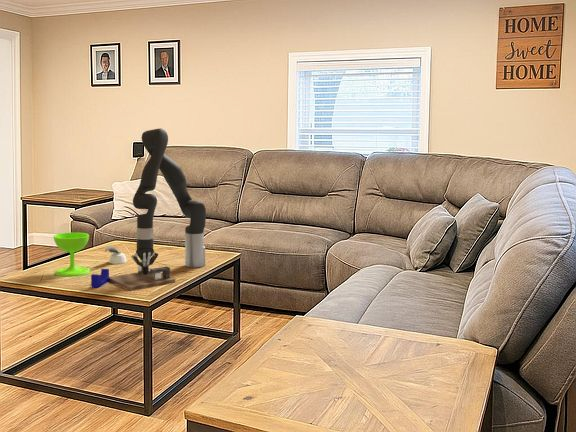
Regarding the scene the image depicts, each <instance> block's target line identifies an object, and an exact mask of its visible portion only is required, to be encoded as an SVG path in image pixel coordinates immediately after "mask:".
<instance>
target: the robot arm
mask: <svg viewBox="0 0 576 432" xmlns="http://www.w3.org/2000/svg"><path fill="white" fill-rule="evenodd" d="M141 142H142V144H143V147H144V149H145V150H146V152H147V153H148V154H149V155H150V157H149V159H148V161H147V163H145V165H144V167H143V169H142V172H141V176H140V182H139V186H138V187H137V189H136V192H135V193H134V195H133V198H132V204H133V207H134V208H135V209H138V210H147V212H146V213H141V214H138V215H137V218H136V250H135V253H134V254H132V255H131V259H132V260H133V261H134V262H135V264H136V265H137V266H141V267H142V273H143V275H147V274H148V272H149V268H150V266H151V265H154V262H156V260H157V258H158V257H159V253H157V252H155V250H154V216H155V215H154V214H155V211H156V207H157V204H158V199H157V195H155V193H147V192H152V191H154V190H155V189H156V186H157V181H158V174H159V171H160V173H161V174H162V177H163V178H164V180H165V182H166V184H167V185H168V187H169V188H170V191H171V192H172V195H174V197H175V200H176V201H177V203H178V206H179V208H180V211H181V212H182V215H183V216H184V217H185V218H187V219H190V221H189V222H190V223H189V225H186V227H185V229H184V230H185V231H184V239H185V241H184V246H185V248H184V250H185V252H184V253H185V254H184V255H185V256H184V257H185V258H184V259H185V260H184V261H185V262H184V264H185V265H184V266H185V267H187V268H192V269H193V268H202V267H204V266H206V247H205V245H204V244H205V241H204V239H205V238H204V229H205V227H206V218H207V209H206V205H205V204H204V202H202V201H197V200H193V198H192V196H191V195H190V193H189V191H188V188H187V178H186V176H185V175H186V174H184V172H183V169H182V167H181V166H180V165H179V164H178V163H177V162H176V161H174V160H173V159H171V157H169V156H167V154H165V153H166V149H167V146H168V143H169V135H168V133H167V131H166V130H165V129H164V128H154V129H150V130H145V131H143V132H142V134H141ZM138 258H139V259H138Z"/></svg>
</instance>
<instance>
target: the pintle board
mask: <svg viewBox="0 0 576 432" xmlns="http://www.w3.org/2000/svg"><path fill="white" fill-rule="evenodd" d="M150 272H152V273H157V272H160V273H161V279H160V280H154V279H151V278H149V277H147V276H145V275H143V274H139V273H138V271H137V272H132V273H127V274H120V275H114V276H113V275H112V276H109V282H111V283H112V284H115V285H117V286H119V287H120V288H123V289H125V290H127V291H135V290H141V289H146V288H151V287H157V286H162V285H163V286H164V285H167V284H175V283H176V278H174V277H171V267H169V266H161V267H156V268H155V267H154V268H151V269H150Z"/></svg>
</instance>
